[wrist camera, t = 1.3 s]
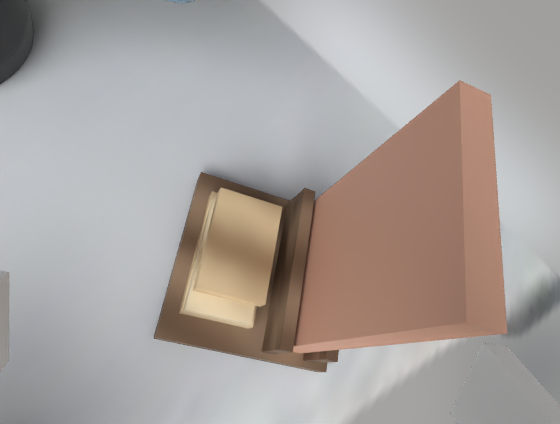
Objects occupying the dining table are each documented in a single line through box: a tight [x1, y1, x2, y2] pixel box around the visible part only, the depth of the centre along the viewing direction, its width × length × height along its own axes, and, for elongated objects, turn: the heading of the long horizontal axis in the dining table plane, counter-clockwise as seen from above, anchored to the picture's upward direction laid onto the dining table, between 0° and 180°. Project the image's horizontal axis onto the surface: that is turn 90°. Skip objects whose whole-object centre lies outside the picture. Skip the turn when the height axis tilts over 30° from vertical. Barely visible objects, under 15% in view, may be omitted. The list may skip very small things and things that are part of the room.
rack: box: [154, 172, 339, 372], centre depth 34 cm, size 14×14×6 cm
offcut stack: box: [179, 188, 282, 329], centre depth 32 cm, size 10×6×4 cm, turn 171°
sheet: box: [293, 81, 507, 353], centre depth 27 cm, size 12×2×20 cm, turn 171°
